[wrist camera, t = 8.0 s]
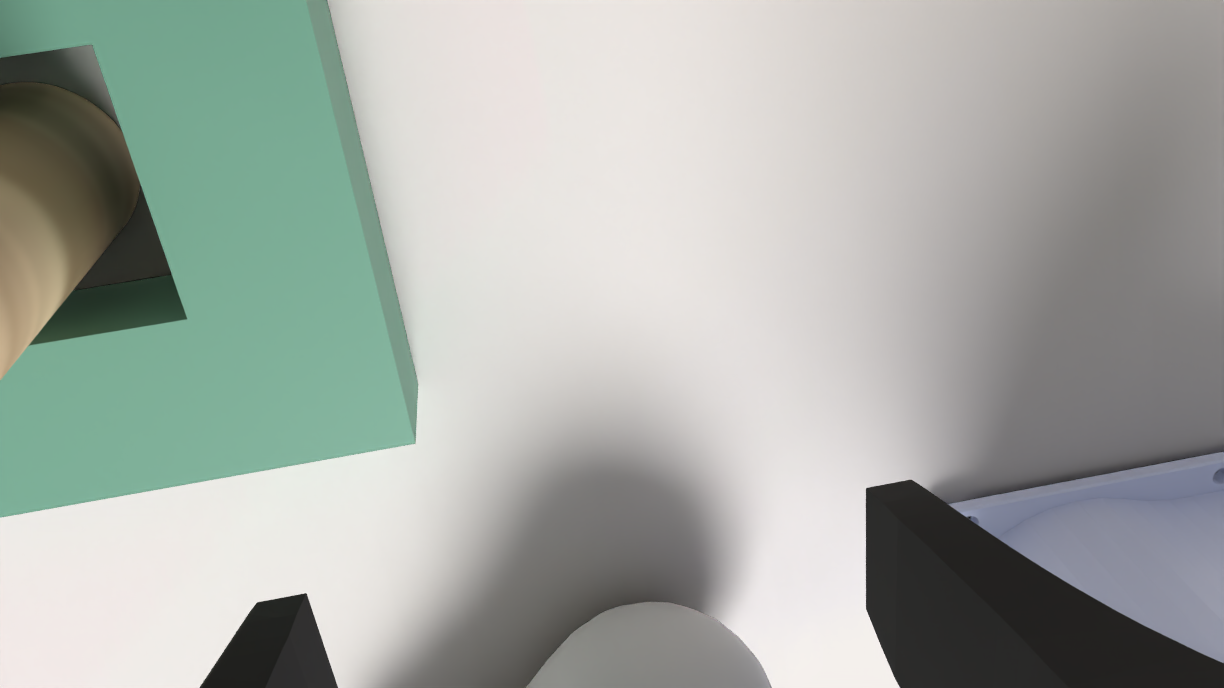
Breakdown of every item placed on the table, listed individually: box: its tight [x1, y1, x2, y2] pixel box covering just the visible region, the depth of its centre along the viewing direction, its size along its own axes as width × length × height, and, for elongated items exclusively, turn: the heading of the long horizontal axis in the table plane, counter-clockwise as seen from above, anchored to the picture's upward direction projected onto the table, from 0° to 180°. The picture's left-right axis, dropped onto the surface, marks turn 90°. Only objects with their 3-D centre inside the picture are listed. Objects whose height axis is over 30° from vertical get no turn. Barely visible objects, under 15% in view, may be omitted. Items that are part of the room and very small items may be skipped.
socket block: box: [0, 0, 418, 517], centre depth 19 cm, size 12×12×2 cm
